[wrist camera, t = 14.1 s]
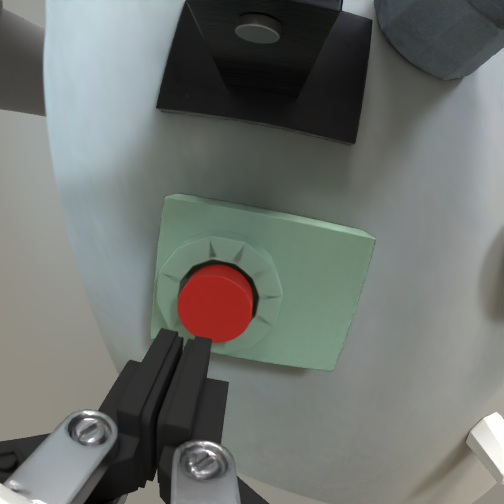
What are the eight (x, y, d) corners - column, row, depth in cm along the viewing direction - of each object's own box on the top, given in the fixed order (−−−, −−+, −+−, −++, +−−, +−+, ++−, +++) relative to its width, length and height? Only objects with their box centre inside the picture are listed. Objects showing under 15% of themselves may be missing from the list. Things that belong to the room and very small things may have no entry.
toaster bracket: (161, 111, 18) (50, 55, 7) (193, -4, 16) (140, -116, 4) (350, 146, 18) (458, 120, 7) (367, 26, 16) (447, -70, 4)
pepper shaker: (466, 450, 25) (500, 511, 15) (463, 431, 24) (503, 498, 14) (500, 426, 25) (539, 481, 14) (500, 403, 23) (546, 463, 13)
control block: (161, 320, 21) (140, 353, 17) (176, 192, 19) (153, 198, 15) (326, 350, 22) (339, 388, 17) (362, 229, 19) (388, 245, 15)
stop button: (181, 319, 17) (173, 335, 15) (189, 257, 16) (181, 268, 14) (246, 332, 17) (244, 349, 15) (259, 271, 16) (258, 283, 14)
